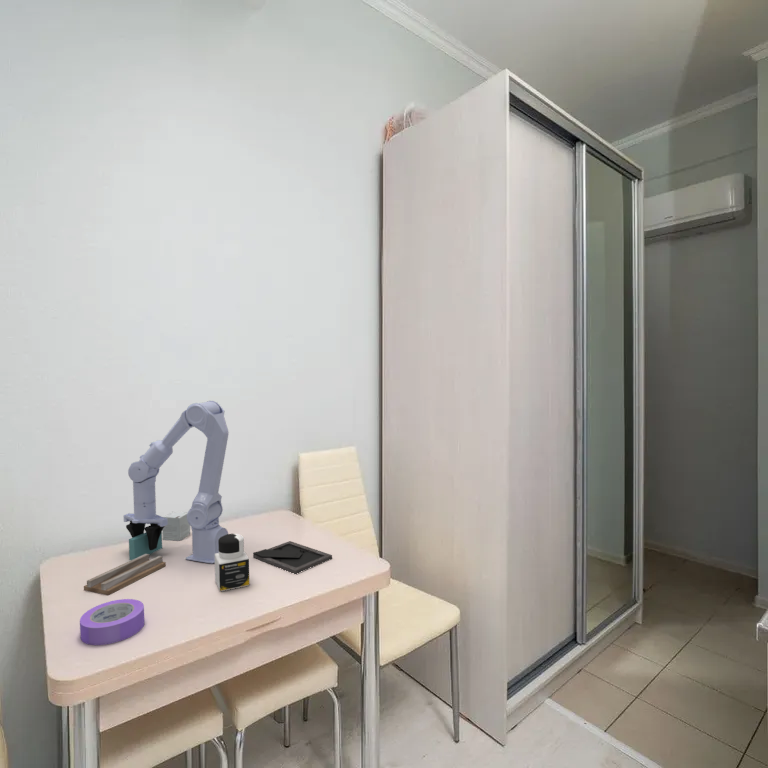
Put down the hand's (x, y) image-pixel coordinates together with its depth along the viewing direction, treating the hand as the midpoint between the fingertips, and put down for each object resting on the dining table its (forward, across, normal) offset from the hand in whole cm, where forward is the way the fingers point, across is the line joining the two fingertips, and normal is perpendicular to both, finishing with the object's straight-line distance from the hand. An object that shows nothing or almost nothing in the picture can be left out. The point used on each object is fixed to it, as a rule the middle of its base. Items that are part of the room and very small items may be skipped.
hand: (146, 548), depth 144 cm
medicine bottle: (+2, +36, -8) cm, 37 cm away
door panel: (+2, 0, 0) cm, 2 cm away
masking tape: (+2, +26, -34) cm, 43 cm away
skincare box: (+2, -2, +14) cm, 14 cm away
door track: (+2, +8, -14) cm, 16 cm away
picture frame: (+2, +42, +11) cm, 43 cm away
